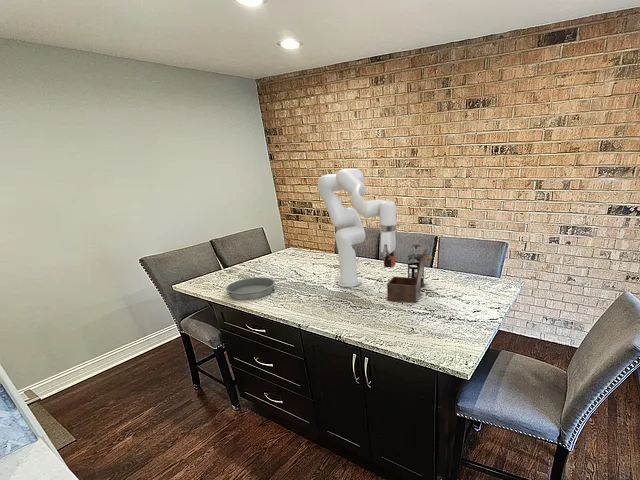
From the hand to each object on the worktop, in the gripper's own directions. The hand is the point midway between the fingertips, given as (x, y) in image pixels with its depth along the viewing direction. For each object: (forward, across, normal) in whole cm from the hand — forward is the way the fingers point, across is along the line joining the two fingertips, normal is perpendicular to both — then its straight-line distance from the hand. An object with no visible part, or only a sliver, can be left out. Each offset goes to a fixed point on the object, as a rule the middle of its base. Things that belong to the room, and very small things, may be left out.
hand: (389, 265), depth 166 cm
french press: (+18, -22, +8) cm, 29 cm away
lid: (+1, -3, +15) cm, 15 cm away
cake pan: (+17, +10, -76) cm, 79 cm away
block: (0, 0, 0) cm, 0 cm away
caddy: (+18, -3, +6) cm, 19 cm away
